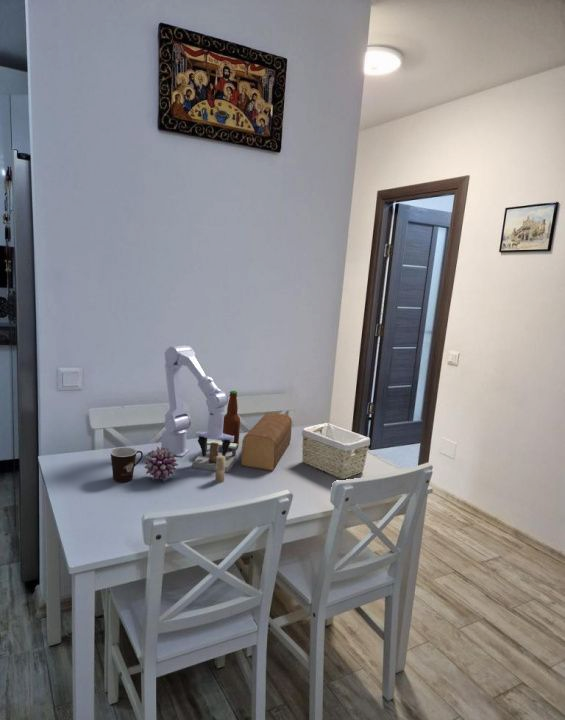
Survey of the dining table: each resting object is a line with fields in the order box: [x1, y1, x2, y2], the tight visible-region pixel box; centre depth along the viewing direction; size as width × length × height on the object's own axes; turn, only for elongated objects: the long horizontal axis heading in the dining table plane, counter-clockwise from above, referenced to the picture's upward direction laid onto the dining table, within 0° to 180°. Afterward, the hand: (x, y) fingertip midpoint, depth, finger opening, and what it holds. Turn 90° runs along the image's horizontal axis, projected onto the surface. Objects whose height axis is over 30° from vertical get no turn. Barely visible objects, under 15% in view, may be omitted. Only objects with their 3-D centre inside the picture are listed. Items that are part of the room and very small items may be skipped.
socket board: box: [192, 439, 239, 473], centre depth 189 cm, size 14×13×7 cm
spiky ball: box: [143, 446, 179, 481], centre depth 170 cm, size 12×12×12 cm
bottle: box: [221, 390, 241, 451], centre depth 205 cm, size 7×7×25 cm
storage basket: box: [301, 422, 371, 480], centre depth 194 cm, size 24×16×15 cm
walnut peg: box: [209, 442, 220, 464], centre depth 186 cm, size 3×3×9 cm
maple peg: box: [214, 455, 226, 483], centre depth 173 cm, size 3×3×9 cm
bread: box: [240, 412, 293, 471], centre depth 202 cm, size 14×34×14 cm, turn 168°
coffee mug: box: [110, 447, 144, 484], centre depth 169 cm, size 12×9×10 cm
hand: (213, 457), depth 186 cm, fingers open, 7 cm apart
